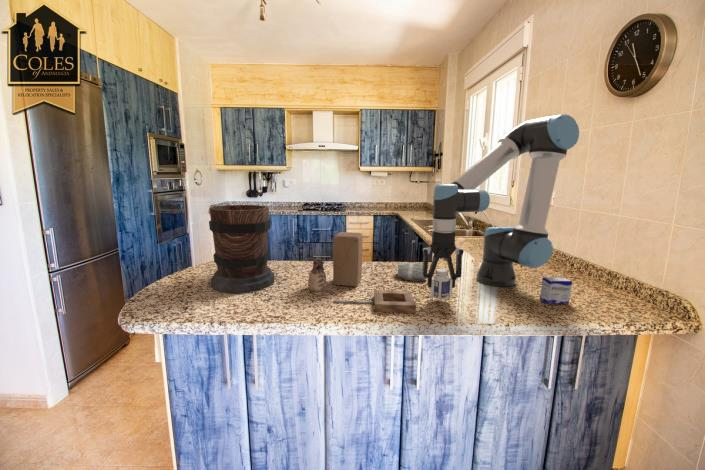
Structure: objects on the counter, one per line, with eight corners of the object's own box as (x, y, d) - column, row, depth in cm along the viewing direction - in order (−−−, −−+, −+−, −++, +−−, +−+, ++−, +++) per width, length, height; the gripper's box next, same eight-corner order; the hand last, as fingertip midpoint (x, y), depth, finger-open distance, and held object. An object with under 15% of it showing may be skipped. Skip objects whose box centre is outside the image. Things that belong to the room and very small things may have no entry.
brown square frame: (410, 297, 117) (410, 291, 116) (415, 312, 104) (416, 305, 103) (335, 295, 118) (335, 288, 117) (331, 310, 105) (331, 302, 104)
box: (547, 304, 112) (550, 281, 111) (539, 299, 117) (542, 276, 115) (569, 304, 113) (572, 280, 111) (560, 299, 117) (563, 276, 116)
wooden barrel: (204, 294, 116) (198, 211, 111) (221, 270, 145) (217, 203, 139) (272, 291, 121) (270, 210, 115) (276, 268, 149) (274, 203, 144)
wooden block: (357, 287, 126) (358, 237, 122) (332, 285, 128) (332, 235, 124) (361, 279, 136) (362, 232, 132) (338, 277, 138) (339, 231, 134)
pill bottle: (448, 295, 115) (450, 268, 113) (448, 300, 110) (449, 273, 108) (433, 293, 117) (434, 267, 115) (431, 298, 112) (433, 271, 110)
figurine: (330, 287, 126) (330, 257, 124) (321, 293, 120) (320, 261, 118) (314, 284, 129) (314, 255, 127) (304, 289, 123) (304, 259, 121)
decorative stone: (427, 276, 143) (428, 262, 142) (426, 283, 133) (426, 269, 132) (397, 273, 146) (398, 260, 145) (394, 280, 137) (394, 266, 136)
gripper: (468, 228, 112) (464, 292, 117) (414, 228, 113) (412, 291, 118) (475, 232, 105) (470, 300, 109) (417, 232, 106) (415, 300, 110)
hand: (440, 296), depth 114 cm, fingers closed on pill bottle, 5 cm apart
